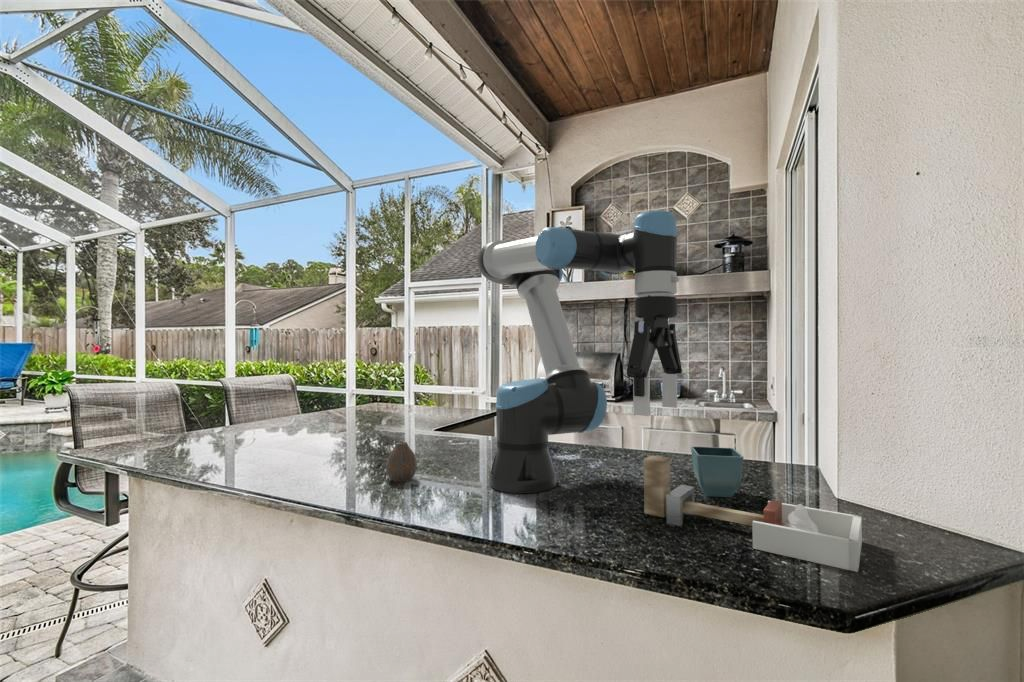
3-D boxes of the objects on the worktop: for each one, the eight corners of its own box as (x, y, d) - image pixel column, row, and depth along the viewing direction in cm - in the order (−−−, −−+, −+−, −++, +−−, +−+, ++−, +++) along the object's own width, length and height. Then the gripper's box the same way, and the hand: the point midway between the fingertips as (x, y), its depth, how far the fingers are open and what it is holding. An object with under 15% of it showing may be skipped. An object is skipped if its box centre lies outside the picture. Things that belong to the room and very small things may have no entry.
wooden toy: (641, 515, 88) (641, 459, 88) (654, 506, 92) (653, 454, 93) (775, 543, 74) (774, 478, 75) (782, 532, 79) (781, 470, 79)
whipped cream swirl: (825, 512, 72) (784, 509, 73) (826, 552, 72) (785, 549, 73) (812, 500, 77) (774, 498, 78) (813, 538, 77) (775, 535, 78)
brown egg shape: (403, 474, 118) (403, 438, 118) (423, 479, 114) (422, 441, 114) (380, 481, 113) (380, 443, 113) (400, 485, 109) (400, 446, 109)
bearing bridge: (666, 523, 84) (666, 494, 84) (681, 511, 90) (681, 484, 90) (680, 526, 83) (680, 496, 83) (694, 514, 89) (694, 486, 89)
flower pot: (745, 502, 95) (744, 456, 96) (698, 499, 97) (697, 454, 97) (734, 489, 104) (733, 447, 104) (691, 487, 106) (690, 446, 106)
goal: (752, 548, 73) (752, 521, 73) (769, 523, 83) (768, 500, 83) (858, 572, 65) (857, 542, 65) (862, 541, 75) (861, 516, 75)
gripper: (648, 289, 78) (649, 421, 77) (697, 300, 97) (698, 405, 97) (606, 292, 82) (607, 417, 82) (661, 302, 102) (661, 402, 102)
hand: (656, 411), depth 90 cm, fingers open, 13 cm apart
